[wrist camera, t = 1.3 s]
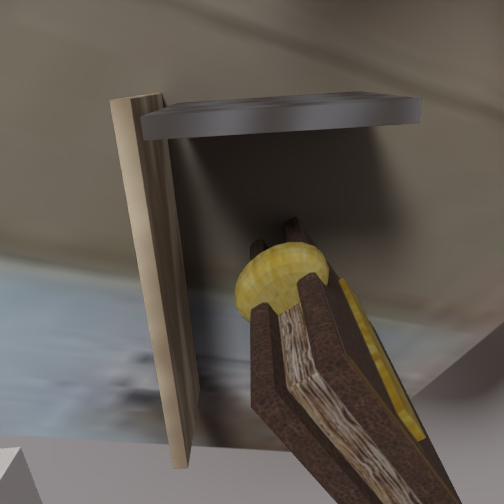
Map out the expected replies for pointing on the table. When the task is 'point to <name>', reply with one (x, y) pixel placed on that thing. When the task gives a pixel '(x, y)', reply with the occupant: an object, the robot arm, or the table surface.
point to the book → (332, 380)
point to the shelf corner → (166, 220)
